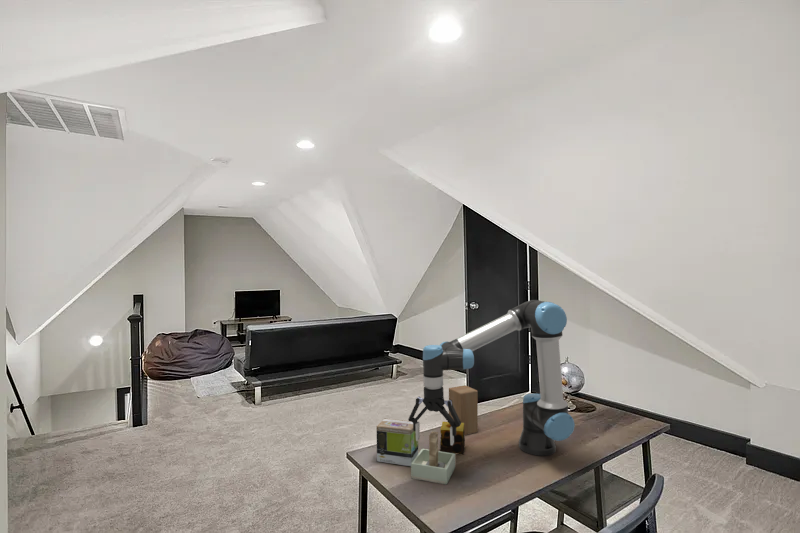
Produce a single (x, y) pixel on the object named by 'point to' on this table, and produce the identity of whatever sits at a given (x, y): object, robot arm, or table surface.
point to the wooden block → (465, 407)
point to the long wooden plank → (433, 449)
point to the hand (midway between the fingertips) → (434, 441)
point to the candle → (458, 439)
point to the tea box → (396, 442)
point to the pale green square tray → (433, 467)
